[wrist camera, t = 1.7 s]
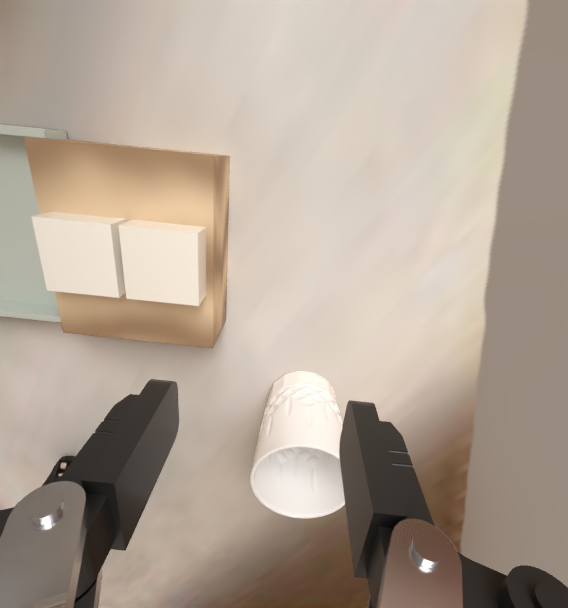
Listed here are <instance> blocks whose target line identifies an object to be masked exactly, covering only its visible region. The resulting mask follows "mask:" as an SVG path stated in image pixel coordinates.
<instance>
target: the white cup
mask: <svg viewBox="0 0 568 608" xmlns="http://www.w3.org/2000/svg"><path fill="white" fill-rule="evenodd" d="M342 427H343V424H342V419H341V415H340V412H339V409H338V406H337V401H336V396H335V392H334V390H333V388H332V387H331V385H330V384H329V382H328V381H327V380H326V379H324V378H323V377H321V376H319V375H318V374H316V373H313V372H306V371H296V372H292V373H288V374H285V375H283V376H282V377H281V378H280V379H278V380H277V381H276V382H274V384H273V386H272V389H271V391H270V393H269V397H268V402H267V405H266V408H265V412H264V416H263V420H262V424H261V428H260V432H259V437H258V442H257V447H256V451H255V456H254V461H253V465H252V470H251V475H250V485H251V489H252V491H253V493H254V495H255V497H256V498H257V499H258V500H259V501H260V502H261V503H262V504H263V505H264V506H265V507H267V508H268V509H270V510H272V511H274V512H276V513H278V514H281V515H284V516H288V517H293V518H316V517H321V516H325V515H328V514H330V513H333V512H335V511H337V510H338V509H340V508H341V507H342V506H344V505H345V498H344V490H343V482H342V474H341V466H340V457H339V445H340V437H341V432H342Z"/></svg>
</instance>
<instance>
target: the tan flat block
mask: <svg viewBox="0 0 568 608" xmlns="http://www.w3.org/2000/svg"><path fill="white" fill-rule="evenodd" d="M24 141H25V146H26V151H27V156H28V160H29V165H30V170H31V175H32V180H33V185H34V190H35V195H36V200H37V205H38V210H39V215H41V214H45V213H50V212H61V213H71V214H81V215H91V216H100V217H110V218H120V219H126V222H128V221H131V220H140V221H150V222H160V223H170V224H180V225H190V226H200V227H206V296H205V298H204V299H203V301H202V302H201V304H200V305H199V306H193V305H184V304H174V303H164V302H154V301H145V300H135V299H126V293H125V294H123V295H122V296H121V297H120V298H116V297H106V296H96V295H86V294H77V293H67V292H57V291H55V295H56V300H57V305H58V310H59V315H60V320H61V325H62V329H63V332H64V333H74V334H83V335H93V336H102V337H112V338H122V339H131V340H141V341H151V342H160V343H170V344H180V345H189V346H199V347H208V348H213V347H214V344H215V342H216V340H217V338H218V336H219V334H220V332H221V329H222V327H223V325H224V323H225V321H226V294H227V249H228V204H229V159H230V156H227V155H217V154H206V153H196V152H186V151H176V150H166V149H156V148H146V147H136V146H125V145H115V144H105V143H95V142H85V141H75V140H61V139H47V138H33V137H24Z"/></svg>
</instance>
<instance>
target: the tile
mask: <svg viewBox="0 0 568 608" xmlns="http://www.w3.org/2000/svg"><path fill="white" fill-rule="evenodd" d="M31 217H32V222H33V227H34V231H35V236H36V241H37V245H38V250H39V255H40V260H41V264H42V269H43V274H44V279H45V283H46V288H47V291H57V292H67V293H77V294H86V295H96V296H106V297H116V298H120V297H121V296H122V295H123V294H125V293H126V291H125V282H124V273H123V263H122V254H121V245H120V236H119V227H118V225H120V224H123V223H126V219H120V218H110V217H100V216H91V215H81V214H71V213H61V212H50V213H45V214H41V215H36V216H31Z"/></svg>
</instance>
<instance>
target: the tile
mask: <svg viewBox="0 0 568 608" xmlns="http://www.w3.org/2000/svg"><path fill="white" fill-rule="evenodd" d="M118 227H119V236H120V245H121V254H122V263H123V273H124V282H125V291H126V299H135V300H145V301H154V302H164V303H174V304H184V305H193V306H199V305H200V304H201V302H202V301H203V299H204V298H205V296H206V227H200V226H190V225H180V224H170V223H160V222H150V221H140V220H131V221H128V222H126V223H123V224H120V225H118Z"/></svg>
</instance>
